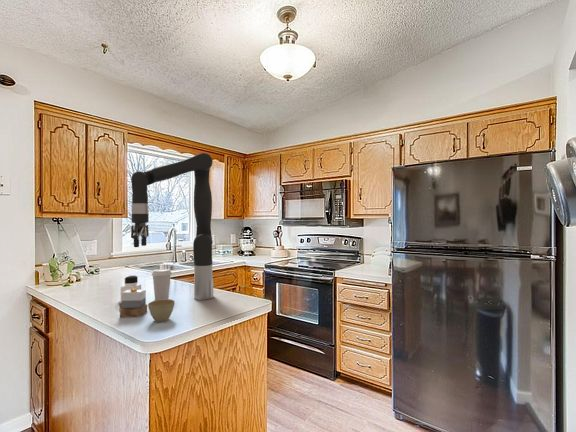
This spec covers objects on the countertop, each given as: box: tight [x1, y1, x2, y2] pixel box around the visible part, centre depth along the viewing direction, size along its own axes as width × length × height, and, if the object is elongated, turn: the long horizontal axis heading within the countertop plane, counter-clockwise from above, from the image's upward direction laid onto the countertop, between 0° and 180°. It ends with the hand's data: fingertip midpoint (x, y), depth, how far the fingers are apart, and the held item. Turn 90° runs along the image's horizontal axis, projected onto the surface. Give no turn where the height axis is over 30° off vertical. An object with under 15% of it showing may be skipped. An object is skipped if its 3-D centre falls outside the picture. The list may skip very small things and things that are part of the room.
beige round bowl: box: [147, 299, 175, 323], centre depth 127 cm, size 10×10×7 cm
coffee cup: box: [151, 268, 172, 301], centre depth 160 cm, size 10×10×15 cm
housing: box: [121, 289, 147, 309], centre depth 135 cm, size 8×5×8 cm, turn 93°
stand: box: [119, 304, 148, 318], centre depth 135 cm, size 8×8×3 cm
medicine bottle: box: [120, 275, 142, 302], centre depth 160 cm, size 7×7×12 cm
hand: (140, 246), depth 151 cm, fingers open, 8 cm apart
